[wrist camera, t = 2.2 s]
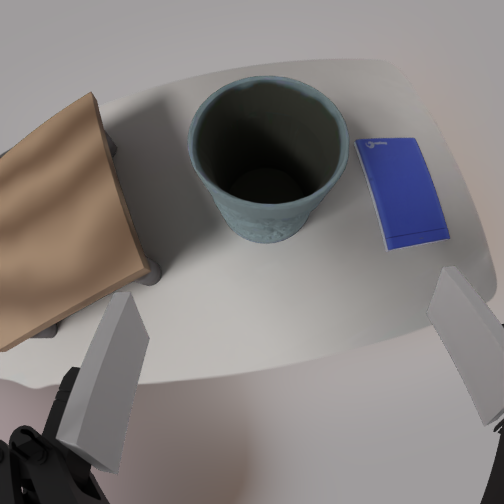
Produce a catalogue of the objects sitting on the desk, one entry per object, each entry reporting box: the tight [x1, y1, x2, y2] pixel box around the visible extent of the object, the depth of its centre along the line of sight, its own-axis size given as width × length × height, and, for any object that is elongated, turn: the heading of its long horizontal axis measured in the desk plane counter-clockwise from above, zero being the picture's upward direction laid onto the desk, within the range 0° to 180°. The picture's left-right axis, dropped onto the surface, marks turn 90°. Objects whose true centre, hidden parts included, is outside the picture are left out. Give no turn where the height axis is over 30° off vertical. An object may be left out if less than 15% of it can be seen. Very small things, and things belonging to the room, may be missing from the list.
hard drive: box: [354, 138, 450, 252], centre depth 28 cm, size 2×8×12 cm
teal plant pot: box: [187, 76, 349, 243], centre depth 23 cm, size 10×10×12 cm
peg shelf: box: [0, 92, 161, 352], centre depth 25 cm, size 20×18×8 cm
